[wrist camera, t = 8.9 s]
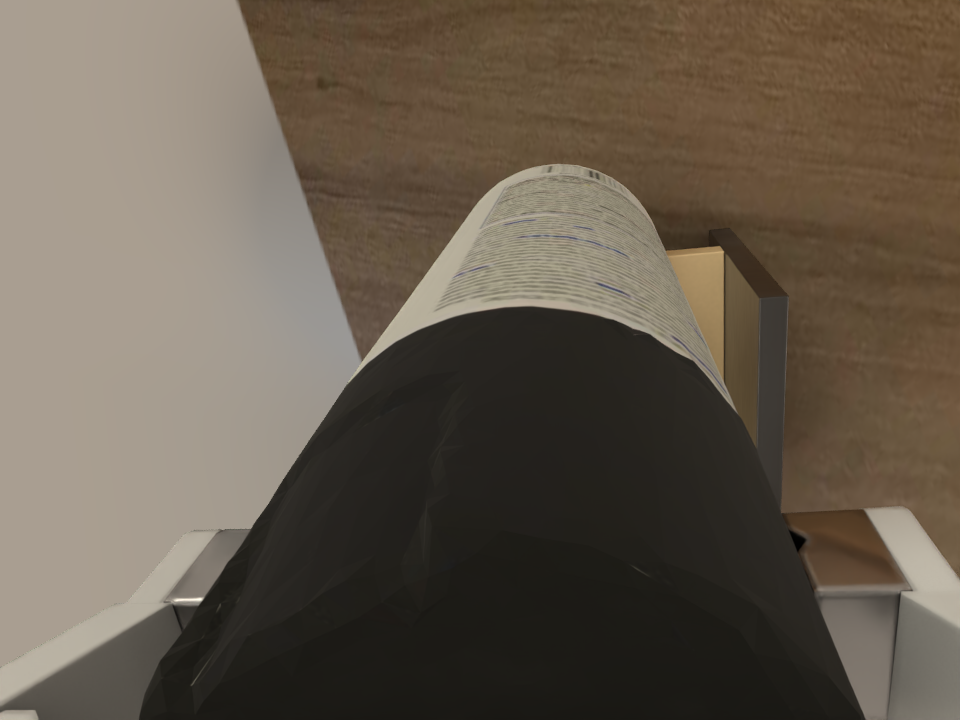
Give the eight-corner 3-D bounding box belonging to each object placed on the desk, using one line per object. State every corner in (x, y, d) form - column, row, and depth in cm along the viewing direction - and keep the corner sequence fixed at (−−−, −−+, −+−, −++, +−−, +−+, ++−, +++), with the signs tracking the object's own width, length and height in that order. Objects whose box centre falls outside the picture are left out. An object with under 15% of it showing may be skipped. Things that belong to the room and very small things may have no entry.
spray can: (420, 233, 25) (-51, 751, 6) (593, 112, 22) (633, 373, 4) (530, 386, 26) (406, 1146, 8) (701, 287, 24) (1068, 1023, 6)
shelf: (514, 473, 51) (492, 629, 37) (487, 250, 45) (448, 337, 31) (729, 464, 49) (788, 626, 35) (730, 228, 43) (802, 311, 29)
